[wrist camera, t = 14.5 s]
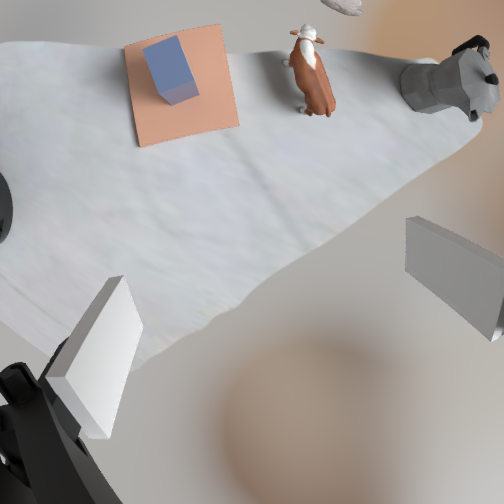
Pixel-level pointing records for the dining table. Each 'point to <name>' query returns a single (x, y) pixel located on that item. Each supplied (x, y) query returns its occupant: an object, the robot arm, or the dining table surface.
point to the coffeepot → (454, 82)
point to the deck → (171, 70)
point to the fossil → (345, 6)
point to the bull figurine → (311, 73)
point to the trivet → (194, 109)
